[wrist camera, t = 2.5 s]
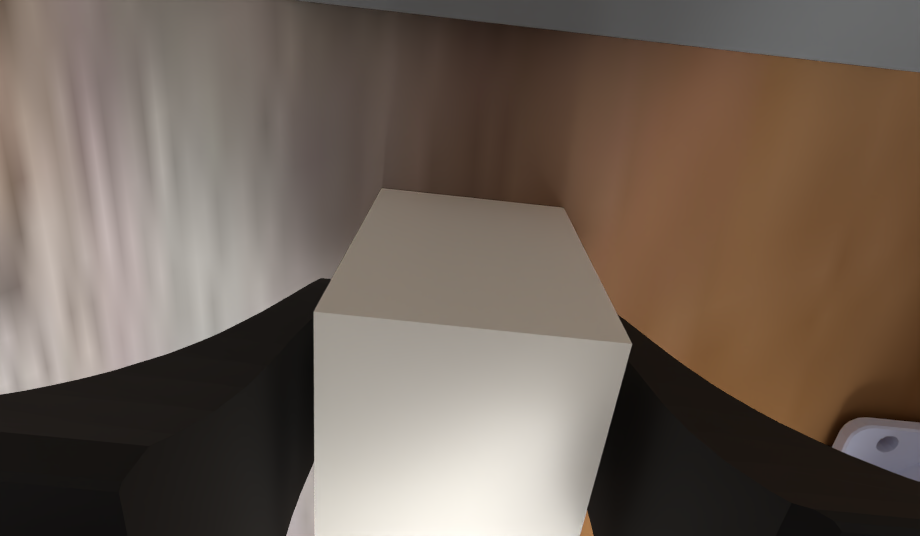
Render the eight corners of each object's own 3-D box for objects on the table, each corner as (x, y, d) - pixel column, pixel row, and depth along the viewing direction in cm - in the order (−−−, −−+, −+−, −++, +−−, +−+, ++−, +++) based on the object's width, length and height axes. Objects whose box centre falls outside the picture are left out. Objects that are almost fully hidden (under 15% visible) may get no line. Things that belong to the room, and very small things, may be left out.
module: (563, 207, 12) (632, 343, 7) (528, 393, 14) (560, 605, 9) (381, 188, 12) (313, 312, 7) (372, 377, 14) (314, 583, 9)
